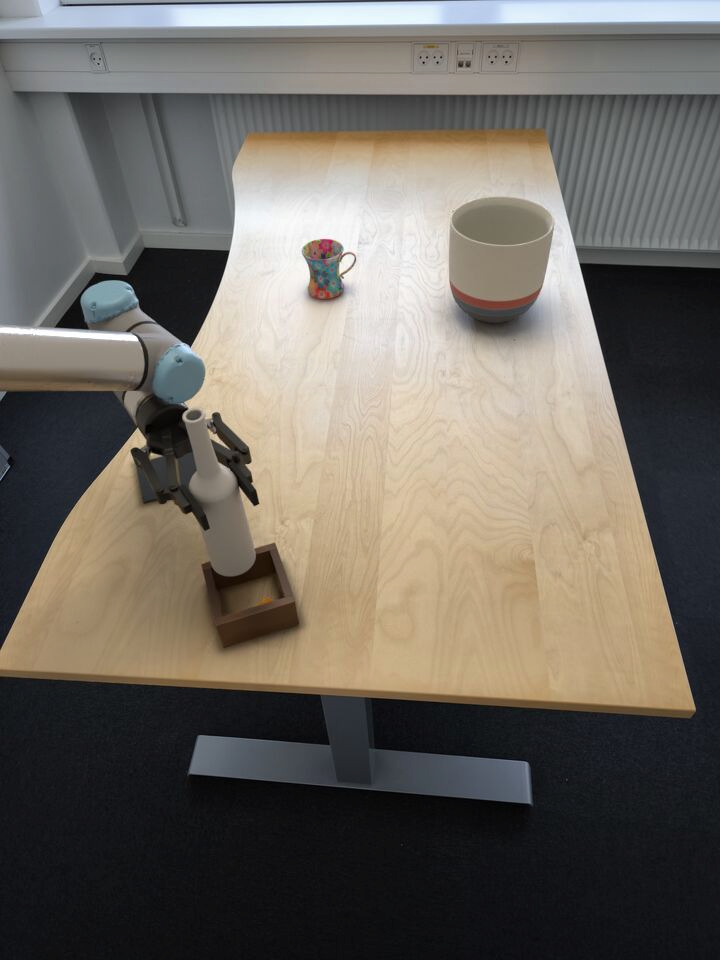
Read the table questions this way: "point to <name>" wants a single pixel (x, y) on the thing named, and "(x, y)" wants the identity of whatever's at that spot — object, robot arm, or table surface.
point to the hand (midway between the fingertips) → (230, 510)
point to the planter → (498, 256)
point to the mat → (159, 464)
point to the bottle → (218, 503)
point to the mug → (325, 267)
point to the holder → (255, 618)
